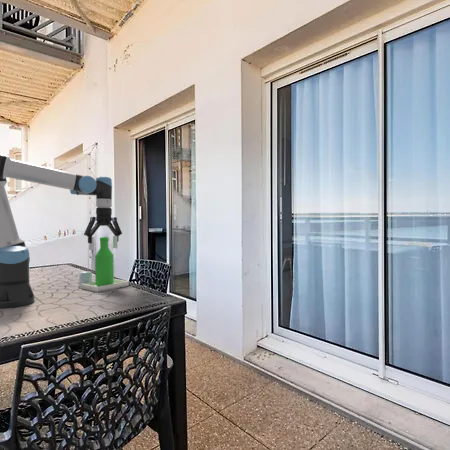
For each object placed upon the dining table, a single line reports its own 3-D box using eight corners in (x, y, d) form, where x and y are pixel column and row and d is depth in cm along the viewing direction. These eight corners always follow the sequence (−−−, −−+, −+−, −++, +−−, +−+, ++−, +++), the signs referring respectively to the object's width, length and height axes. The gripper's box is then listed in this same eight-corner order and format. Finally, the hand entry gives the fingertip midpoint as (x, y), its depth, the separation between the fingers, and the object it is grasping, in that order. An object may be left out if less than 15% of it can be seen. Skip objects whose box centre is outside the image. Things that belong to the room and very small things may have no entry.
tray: (97, 292, 155) (97, 287, 155) (80, 288, 164) (80, 283, 164) (128, 285, 169) (128, 281, 169) (111, 282, 178) (111, 278, 178)
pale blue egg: (83, 287, 167) (83, 273, 166) (77, 285, 170) (76, 272, 170) (94, 285, 171) (93, 272, 171) (87, 284, 175) (87, 271, 175)
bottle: (109, 287, 162) (109, 237, 161) (92, 287, 162) (91, 237, 162) (116, 283, 171) (115, 236, 170) (99, 283, 171) (99, 236, 170)
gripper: (85, 206, 153) (84, 251, 154) (128, 208, 174) (128, 247, 174) (76, 206, 158) (76, 250, 158) (120, 208, 178) (119, 247, 178)
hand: (103, 249), depth 166 cm, fingers open, 13 cm apart
